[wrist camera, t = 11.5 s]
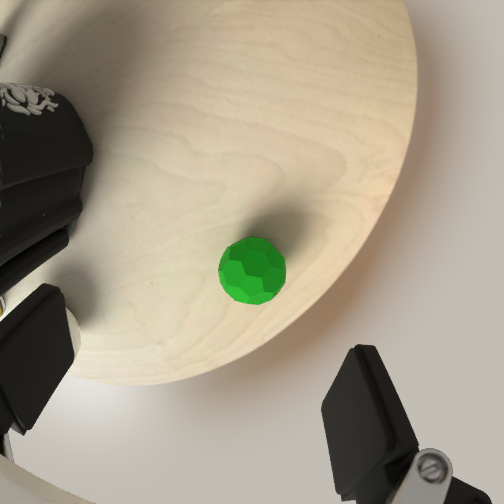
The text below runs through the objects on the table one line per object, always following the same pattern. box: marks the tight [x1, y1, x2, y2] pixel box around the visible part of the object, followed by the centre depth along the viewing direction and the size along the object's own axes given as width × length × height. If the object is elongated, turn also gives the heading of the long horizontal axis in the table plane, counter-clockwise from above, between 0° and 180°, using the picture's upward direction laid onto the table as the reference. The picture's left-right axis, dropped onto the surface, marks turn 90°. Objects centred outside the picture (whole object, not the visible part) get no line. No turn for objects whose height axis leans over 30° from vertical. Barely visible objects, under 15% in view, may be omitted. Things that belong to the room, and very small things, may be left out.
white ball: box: [66, 308, 81, 359], centre depth 24 cm, size 10×7×7 cm
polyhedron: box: [218, 237, 286, 305], centre depth 22 cm, size 5×5×5 cm
